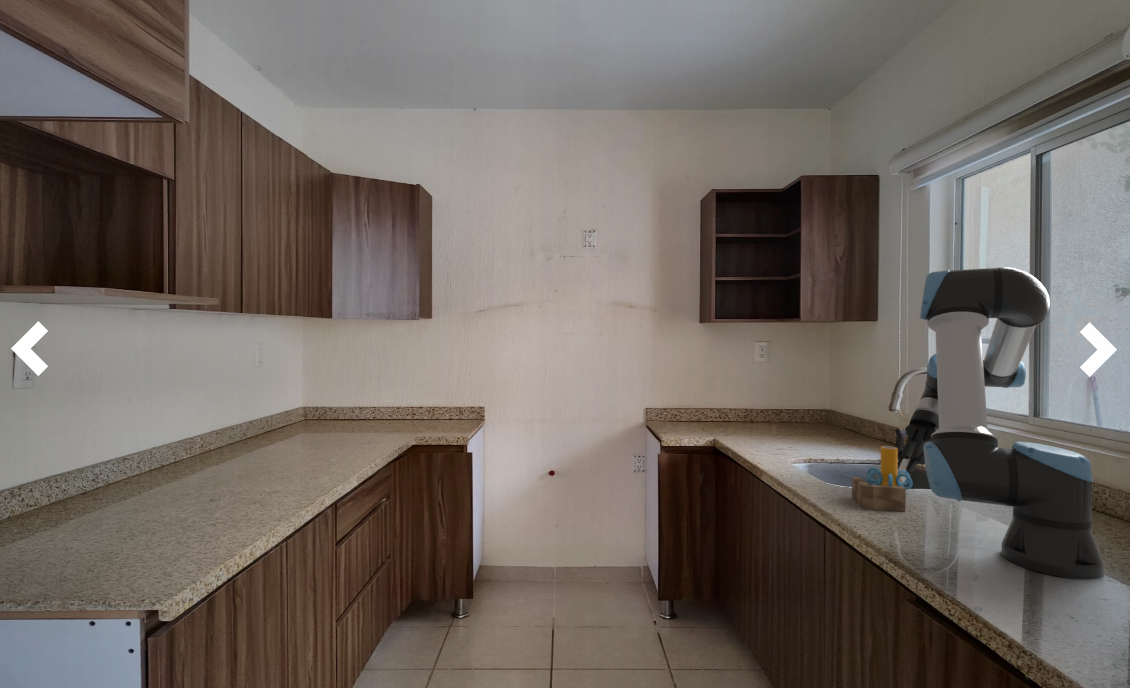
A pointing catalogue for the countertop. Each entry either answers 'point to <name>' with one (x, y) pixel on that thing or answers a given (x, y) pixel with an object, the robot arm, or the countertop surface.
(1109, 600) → the countertop surface
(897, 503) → the v block
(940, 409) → the robot arm
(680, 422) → the countertop surface
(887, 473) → the yellow and blue tube
